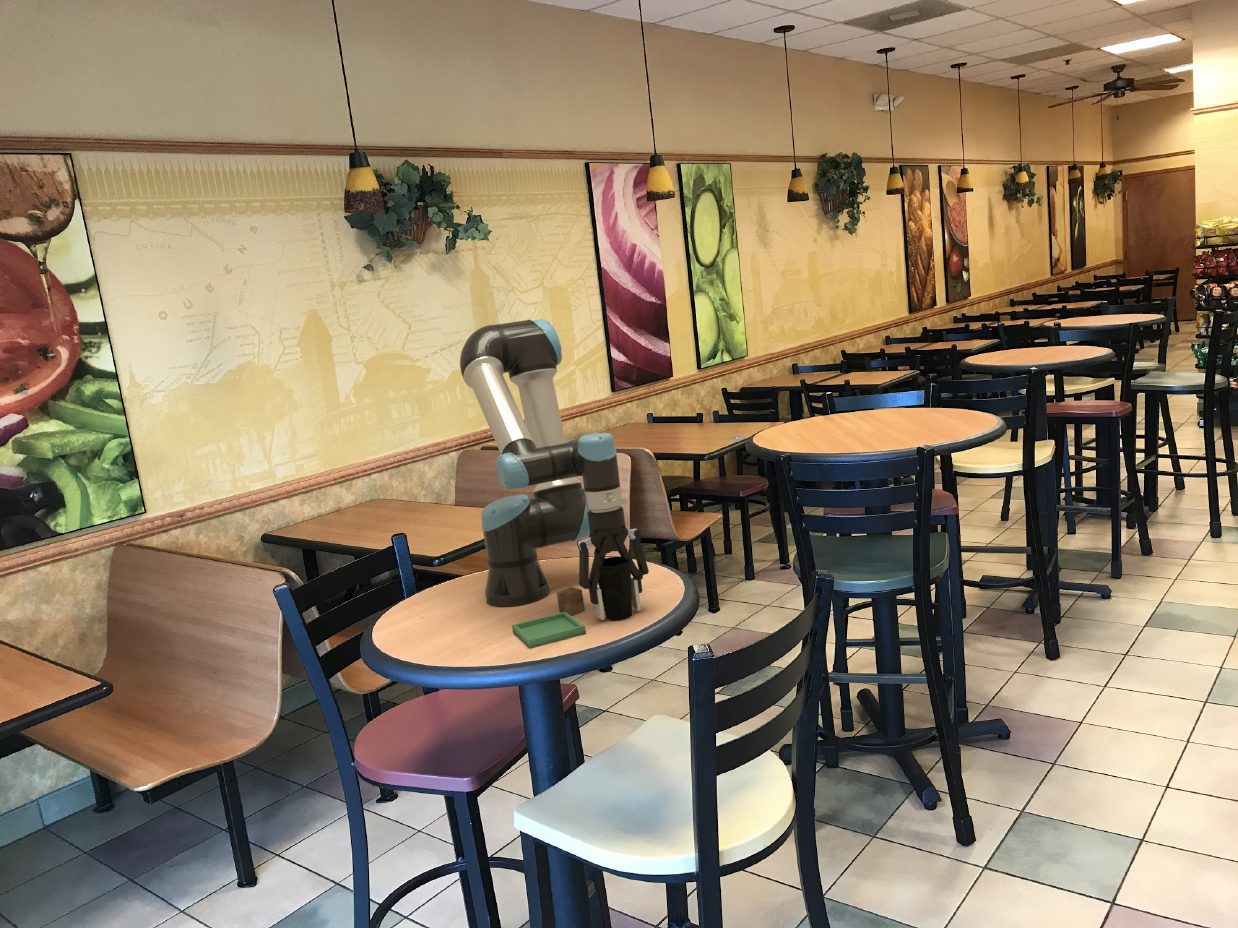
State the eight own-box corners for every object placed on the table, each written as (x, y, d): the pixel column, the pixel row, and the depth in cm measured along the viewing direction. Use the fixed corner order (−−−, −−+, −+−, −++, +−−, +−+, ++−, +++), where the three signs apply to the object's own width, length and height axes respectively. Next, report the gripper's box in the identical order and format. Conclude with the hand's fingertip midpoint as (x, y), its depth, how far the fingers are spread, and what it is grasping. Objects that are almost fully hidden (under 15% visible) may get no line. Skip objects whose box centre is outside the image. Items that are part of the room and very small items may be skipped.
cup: (633, 621, 193) (626, 565, 191) (597, 623, 195) (590, 568, 193) (640, 609, 200) (633, 555, 199) (605, 611, 202) (598, 557, 200)
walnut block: (559, 613, 205) (556, 591, 204) (574, 608, 207) (571, 586, 206) (570, 617, 201) (566, 594, 201) (585, 611, 204) (582, 589, 203)
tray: (512, 632, 196) (511, 624, 196) (566, 618, 201) (565, 611, 200) (529, 648, 185) (528, 640, 185) (586, 633, 190) (585, 625, 189)
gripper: (564, 520, 187) (580, 629, 190) (657, 501, 194) (670, 606, 198) (552, 515, 193) (567, 620, 197) (642, 496, 201) (655, 597, 205)
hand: (618, 612), depth 197 cm, fingers closed on cup, 8 cm apart
